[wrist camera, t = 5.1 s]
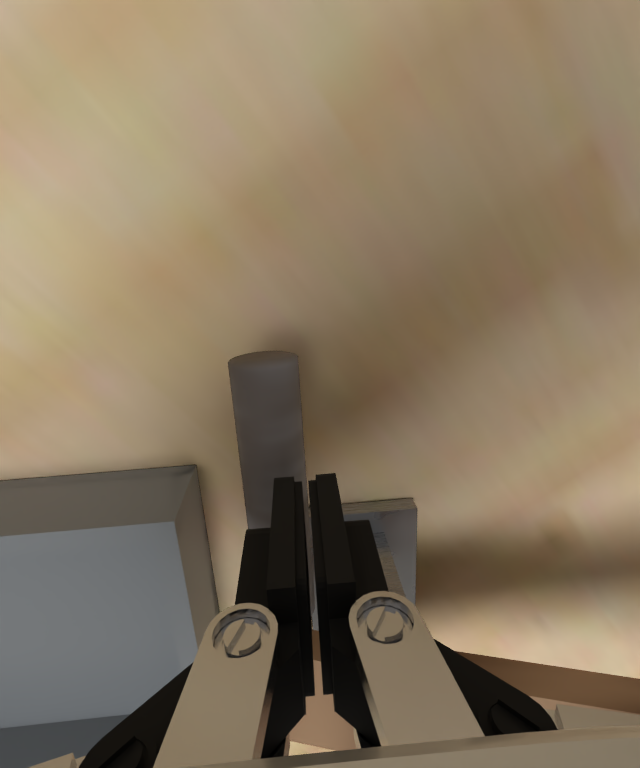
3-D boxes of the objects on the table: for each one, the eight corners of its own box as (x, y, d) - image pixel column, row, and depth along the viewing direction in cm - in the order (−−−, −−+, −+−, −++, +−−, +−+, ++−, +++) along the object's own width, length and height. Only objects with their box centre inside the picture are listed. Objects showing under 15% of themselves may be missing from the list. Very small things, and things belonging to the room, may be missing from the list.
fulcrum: (412, 498, 20) (475, 629, 14) (409, 643, 23) (461, 811, 16) (304, 507, 20) (313, 645, 13) (314, 653, 23) (327, 828, 16)
